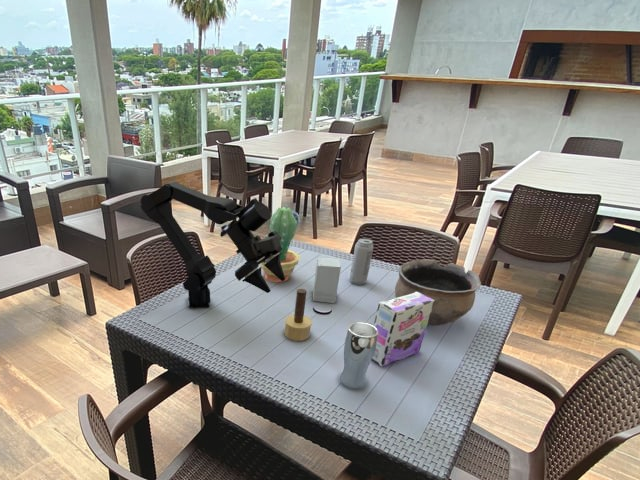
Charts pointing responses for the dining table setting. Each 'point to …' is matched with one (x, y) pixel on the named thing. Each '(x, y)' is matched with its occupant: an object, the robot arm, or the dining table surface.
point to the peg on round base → (299, 313)
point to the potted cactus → (284, 241)
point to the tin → (297, 333)
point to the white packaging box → (326, 280)
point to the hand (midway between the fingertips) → (276, 286)
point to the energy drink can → (361, 261)
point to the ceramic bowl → (439, 288)
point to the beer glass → (358, 354)
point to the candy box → (401, 327)
